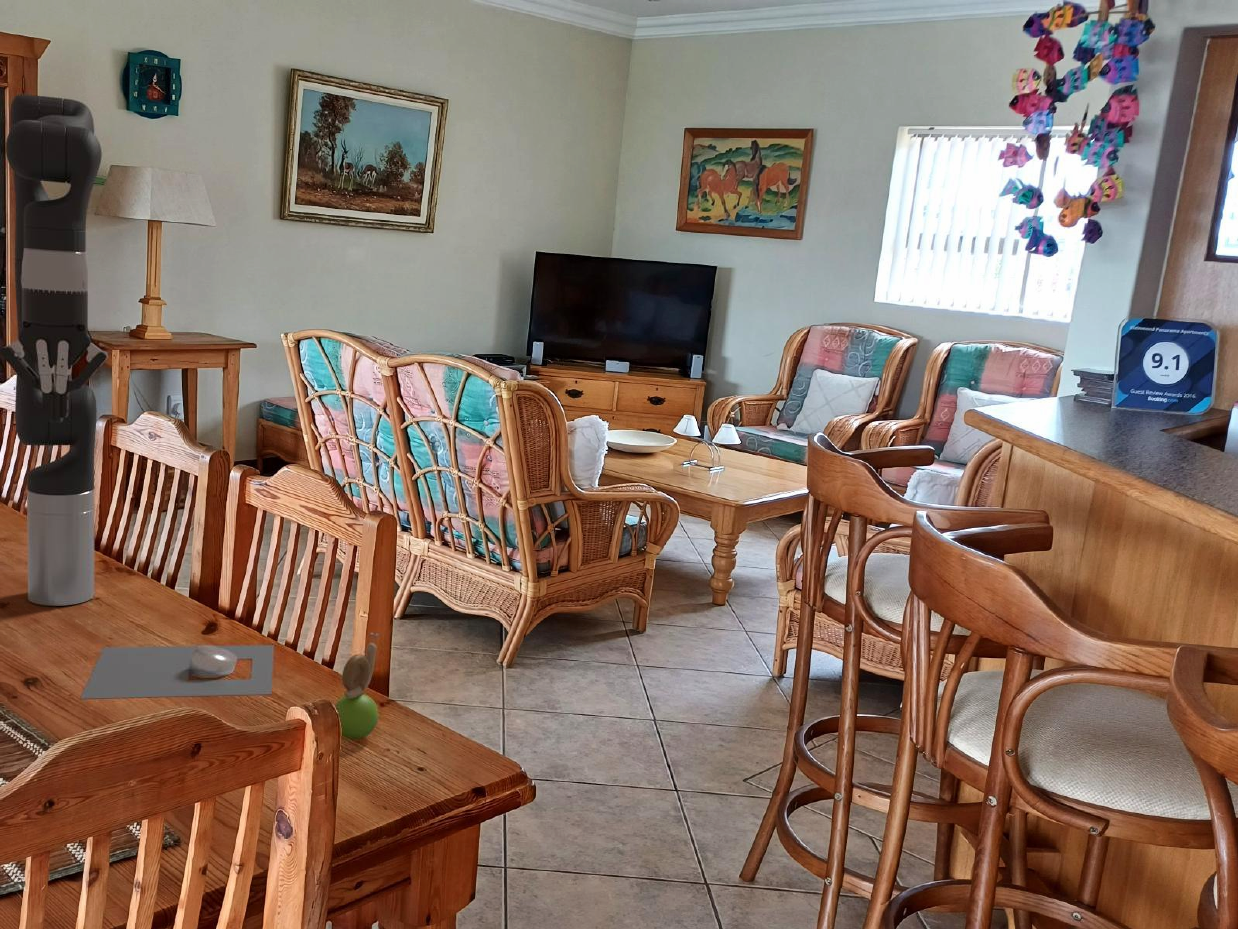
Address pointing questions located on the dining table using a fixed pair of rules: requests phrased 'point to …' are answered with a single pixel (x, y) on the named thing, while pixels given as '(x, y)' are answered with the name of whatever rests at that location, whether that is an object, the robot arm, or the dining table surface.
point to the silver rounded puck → (211, 662)
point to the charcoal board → (172, 673)
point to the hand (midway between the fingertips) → (55, 421)
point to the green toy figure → (358, 695)
